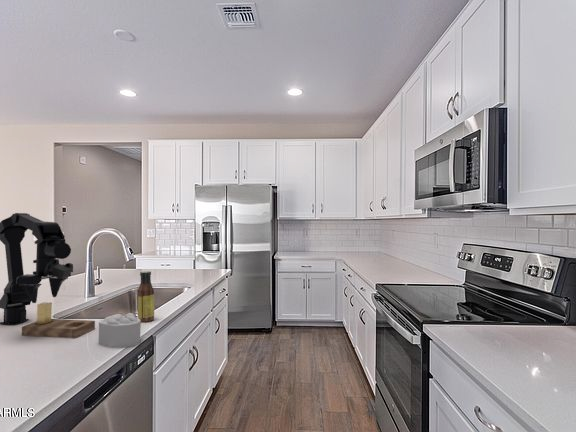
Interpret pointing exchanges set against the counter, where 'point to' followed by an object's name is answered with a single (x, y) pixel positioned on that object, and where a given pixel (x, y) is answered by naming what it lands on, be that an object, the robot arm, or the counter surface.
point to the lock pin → (44, 313)
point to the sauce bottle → (145, 298)
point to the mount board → (59, 328)
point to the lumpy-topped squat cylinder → (119, 331)
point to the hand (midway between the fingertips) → (44, 299)
